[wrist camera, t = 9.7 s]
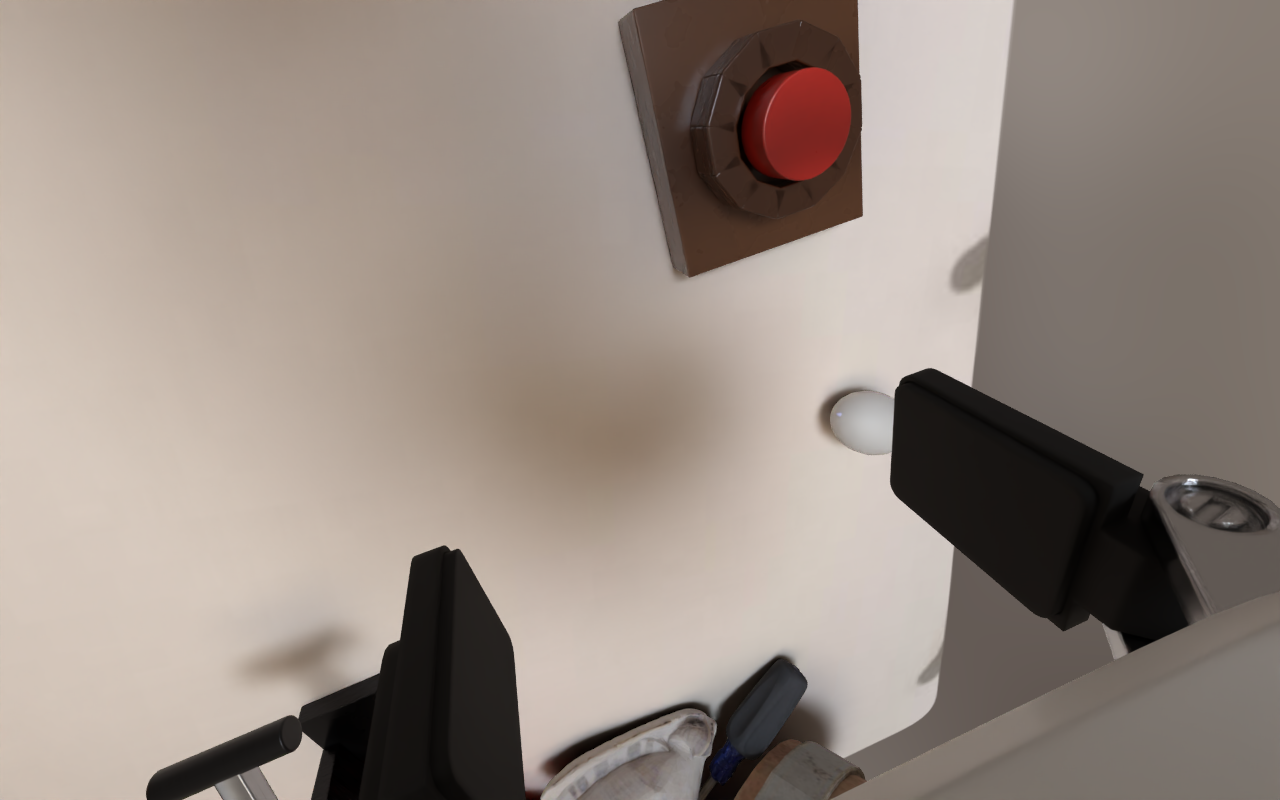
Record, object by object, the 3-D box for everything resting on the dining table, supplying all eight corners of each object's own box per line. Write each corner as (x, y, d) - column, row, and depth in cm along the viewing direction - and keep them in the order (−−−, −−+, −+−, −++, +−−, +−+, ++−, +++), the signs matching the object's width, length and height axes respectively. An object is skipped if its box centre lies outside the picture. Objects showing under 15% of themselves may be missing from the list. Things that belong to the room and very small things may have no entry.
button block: (617, 20, 20) (648, -4, 16) (822, -37, 21) (890, -71, 17) (672, 267, 25) (704, 288, 21) (835, 210, 26) (890, 221, 22)
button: (733, 87, 19) (756, 83, 17) (820, 60, 19) (850, 54, 17) (747, 189, 20) (769, 193, 19) (826, 162, 21) (853, 164, 19)
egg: (936, 402, 30) (880, 401, 34) (869, 380, 28) (816, 381, 31) (926, 465, 30) (871, 457, 34) (858, 449, 27) (805, 443, 31)
